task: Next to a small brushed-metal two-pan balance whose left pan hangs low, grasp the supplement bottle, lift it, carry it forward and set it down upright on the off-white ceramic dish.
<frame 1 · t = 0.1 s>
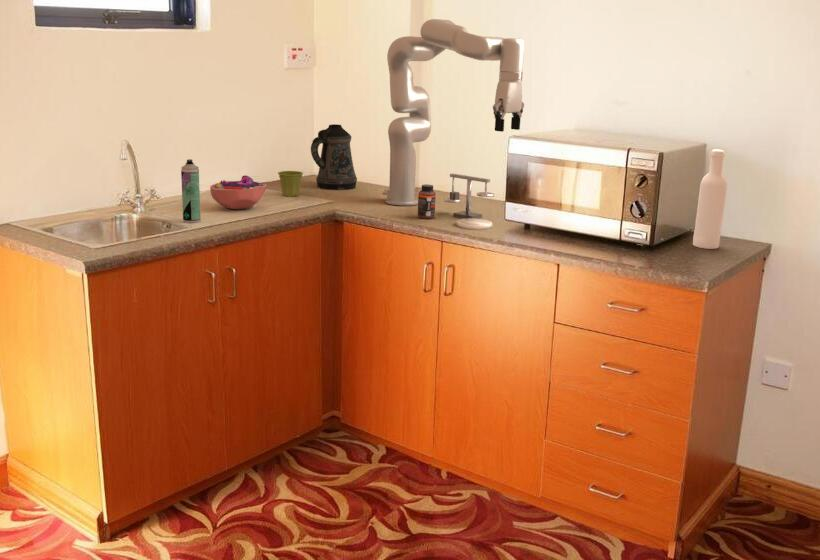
hand: (507, 130, 287), 31 cm above the worktop, fingers open, 9 cm apart
supplement bottle: (426, 218, 298), on the worktop
bottle: (705, 246, 270), on the worktop
spray can: (191, 221, 280), on the worktop
cell model: (238, 209, 303), on the worktop
beer stein: (334, 187, 350), on the worktop
dish: (474, 225, 288), on the worktop
balance: (467, 216, 302), on the worktop
plant pot: (290, 195, 330), on the worktop
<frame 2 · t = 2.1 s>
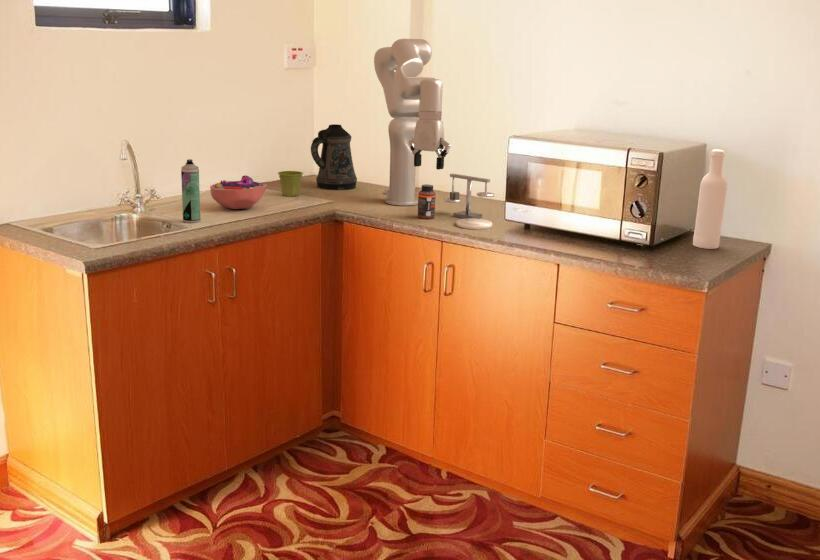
hand: (428, 167, 293), 17 cm above the worktop, fingers open, 9 cm apart
nothing on the worktop moved.
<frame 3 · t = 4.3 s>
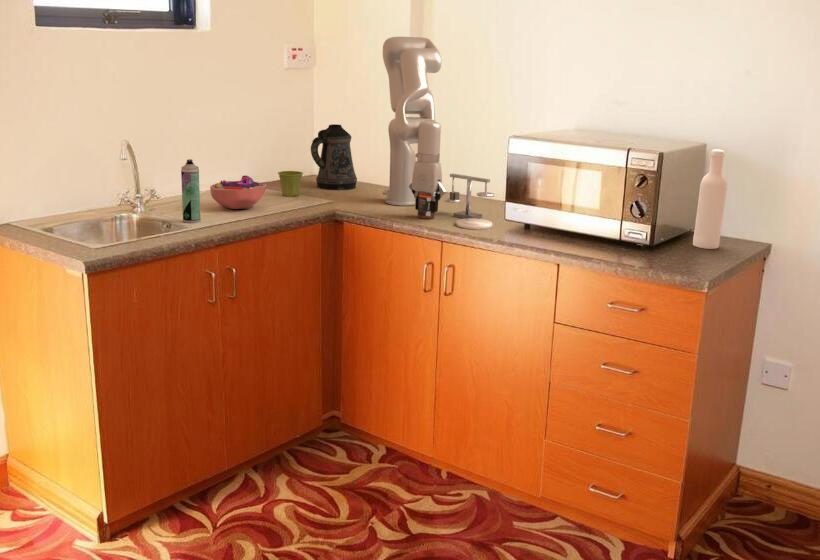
hand: (426, 210, 297), 3 cm above the worktop, fingers closed on supplement bottle, 6 cm apart
supplement bottle: (426, 218, 298), on the worktop, touching gripper
everything else where it was.
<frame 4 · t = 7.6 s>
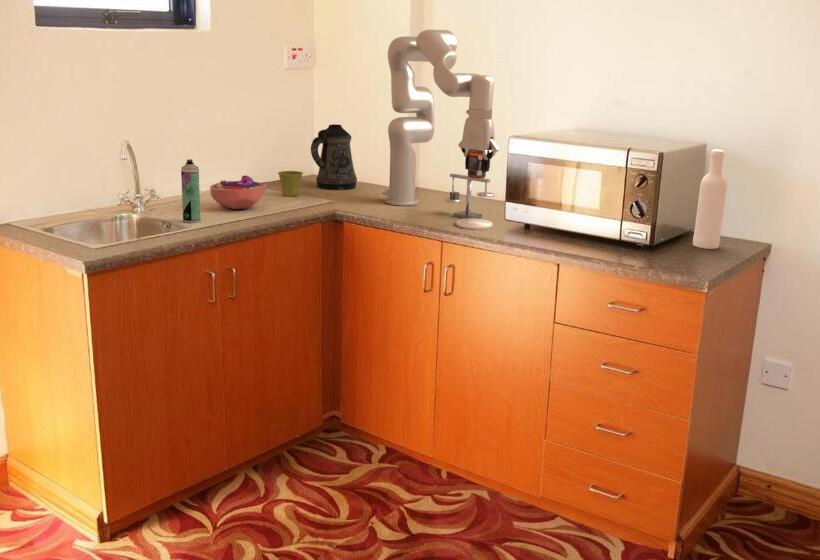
hand: (477, 169, 283), 19 cm above the worktop, fingers closed on supplement bottle, 6 cm apart
supplement bottle: (476, 178, 284), point 16 cm above the worktop, touching gripper
everything else where it was.
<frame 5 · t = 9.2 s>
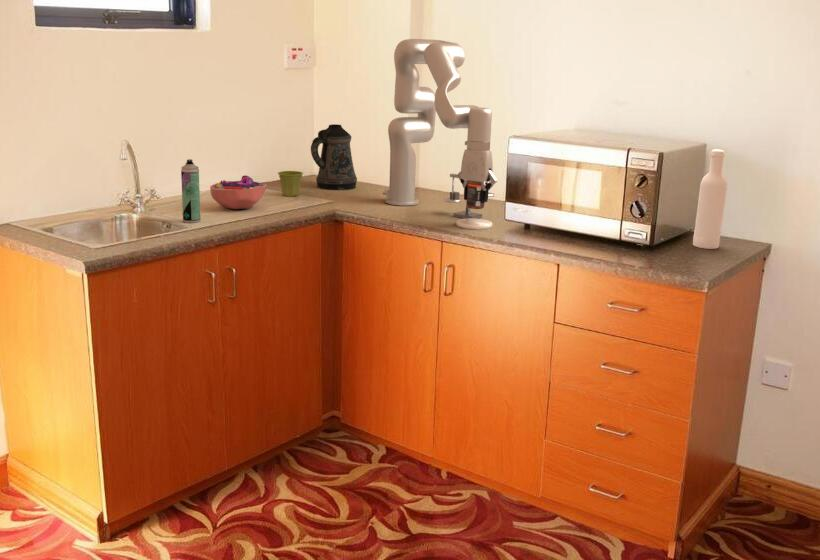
hand: (475, 200, 286), 9 cm above the worktop, fingers closed on supplement bottle, 6 cm apart
supplement bottle: (475, 208, 286), point 6 cm above the worktop, touching gripper
everything else where it was.
when the fingers open (5 cm above the worktop, at t = 10.8 s): supplement bottle drops 1 cm, resting on dish.
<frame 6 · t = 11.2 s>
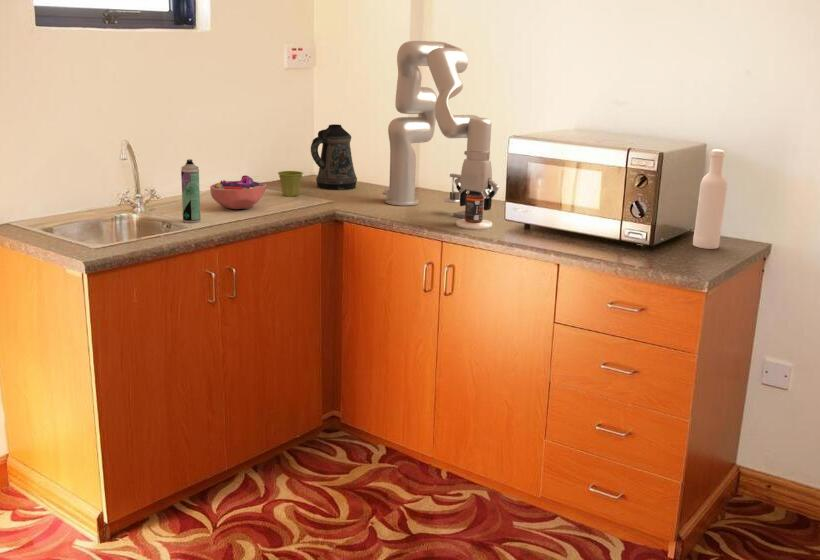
hand: (475, 207, 286), 6 cm above the worktop, fingers open, 9 cm apart
supplement bottle: (473, 222, 288), point 1 cm above the worktop, touching dish
everything else where it was.
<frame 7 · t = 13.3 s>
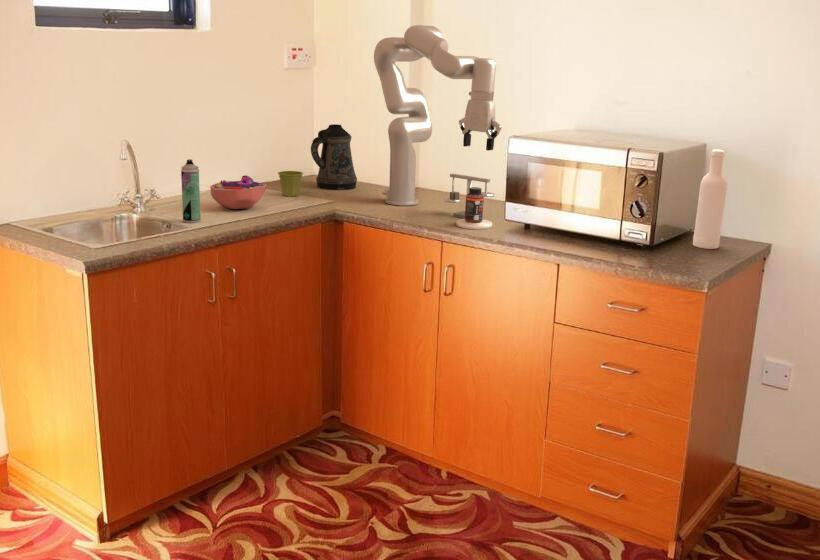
hand: (478, 148, 291), 25 cm above the worktop, fingers open, 9 cm apart
nothing on the worktop moved.
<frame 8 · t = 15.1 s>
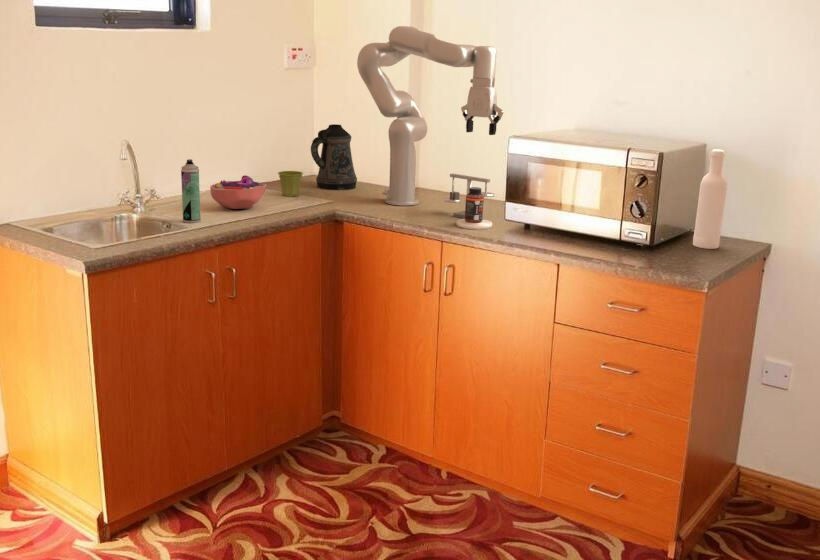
hand: (480, 133, 301), 28 cm above the worktop, fingers open, 9 cm apart
nothing on the worktop moved.
at the end: supplement bottle inside the target area on the dish (0.3 cm from its centre), point 1.2 cm above the dish's base; supplement bottle tilted 0°; the gripper is holding nothing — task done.
